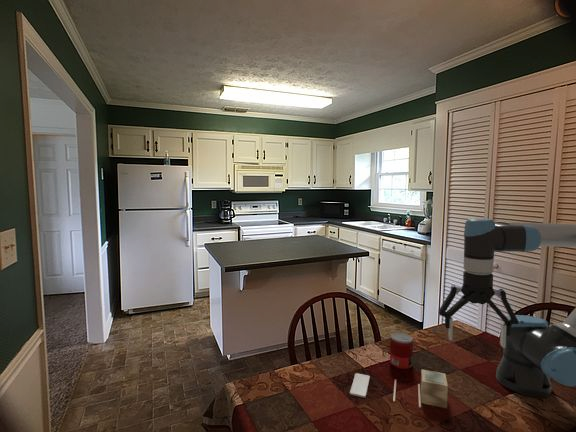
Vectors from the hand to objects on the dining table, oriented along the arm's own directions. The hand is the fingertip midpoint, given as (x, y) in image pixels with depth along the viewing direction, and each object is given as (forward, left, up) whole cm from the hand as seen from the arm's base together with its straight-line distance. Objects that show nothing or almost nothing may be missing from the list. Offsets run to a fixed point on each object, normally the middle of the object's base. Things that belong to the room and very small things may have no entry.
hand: (475, 342), depth 95 cm
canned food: (+21, -18, -21) cm, 35 cm away
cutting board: (+21, 0, -21) cm, 29 cm away
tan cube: (+11, 0, -20) cm, 23 cm away
